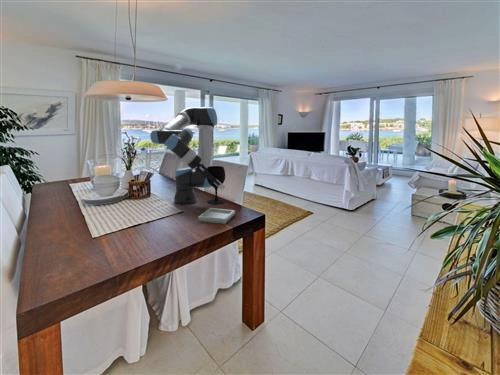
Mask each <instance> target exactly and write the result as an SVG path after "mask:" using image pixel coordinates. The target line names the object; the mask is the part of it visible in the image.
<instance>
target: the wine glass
mask: <svg viewBox="0 0 500 375" xmlns="http://www.w3.org/2000/svg"><path fill="white" fill-rule="evenodd" d="M224 167H225V166H221V165H210V167H208V168H207V169H208V172H209V173H210V174H212V175H213V176H214V177H215V178H216V179H217V180H218V181H220V182H221V183H222V184H223V185H224V182H225V180H226V171H225V168H224ZM206 178H207V181H208V183H209V184H210V185H211V186H212V187H211V188H214V194H215V195H214V196H215V198H211V199H209V200H207V202H206V203H207V204H208V205H211V206H213V205H214V206H216V205H219V206H220V205H223V204H226V200H225V199H222V198H218V189H220V188H219V187H217V186H216V185H215V184H214V183H213V184H212V181H211V180H210V179H209V178H208V177H207V176H206ZM213 179H214V178H213Z"/></svg>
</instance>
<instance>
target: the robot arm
mask: <svg viewBox="0 0 500 375" xmlns="http://www.w3.org/2000/svg"><path fill="white" fill-rule="evenodd" d="M216 125H218V115H217V112H216V109H215V108H214V107H211V106H204V107H203V106H202V107H201V106H197V107H196V106H195V107H194V106H191V107H188V108H185V109H183V110H182V111H180V112H178V113H177V114H176V117H175V118H173V119H172V120H171V121H169V122H168V123H167V124H166V125H164V126H163V127H161V128H160V129H155V130H154V129H153V130H151V132H150V135H149V136H150V141H151V143H153V144H154V145H156V144H157V145H165V146H166V147H167V149H169V151H171V152H172V153H174V154H175V156H177V157H178V158H179V159H180V160H181V163H184V164H187V166H188V167H183V168H178V169H176V170H175V172H174V179H175V194H174V197H173V200H174V201H173V202H174V204H178V205H189V204H194V203H195V202H197V196H196V193H195V191H194V188H200V189H201V188H203V189H205V188H208V189H209V188H213V187H212V186H211V185H210V184H209V183H208V181H207V178H206V176H207V177H208V178H209V179H210V180H211V181H212V184H213V183H214V184H215V185H216V186H217V187H219V188H218V189H220V190H221V191H223V190H224V189H225V188H226V186H225V185H224V183H223V184H222V183H221V182H220V181H218V180H217V179H216V178H215V177H214V176H213V175H212V174H210V173H209V172H208V169H207V168H208V167H210V166H211V155H212V132H213V130H215V126H216ZM188 126H196V128H197V129H198V147H197V148H198V149H197V153H196V152H195V151H194V150H193V149H191V147H189V146H188V145H189V144H190V142H191V141H192V139H194V138H193V137H194V133H193V130H191V128H189V127H188ZM213 178H214V179H213Z"/></svg>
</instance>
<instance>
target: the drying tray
mask: <svg viewBox="0 0 500 375" xmlns="http://www.w3.org/2000/svg"><path fill="white" fill-rule="evenodd" d="M235 215H236V210H234V209H225V208H224V209H223V208H214V207H209V208H208V209H206V210H205V211H204V212H202V214H200V215H198V217H197V218H198V219H197V220H198V222H204V223H205V222H206V223H213V224H220V223H221V224H222V225H226V224H227V223H228V222H229V221H230V220H231V219H233V217H234V216H235Z"/></svg>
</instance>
